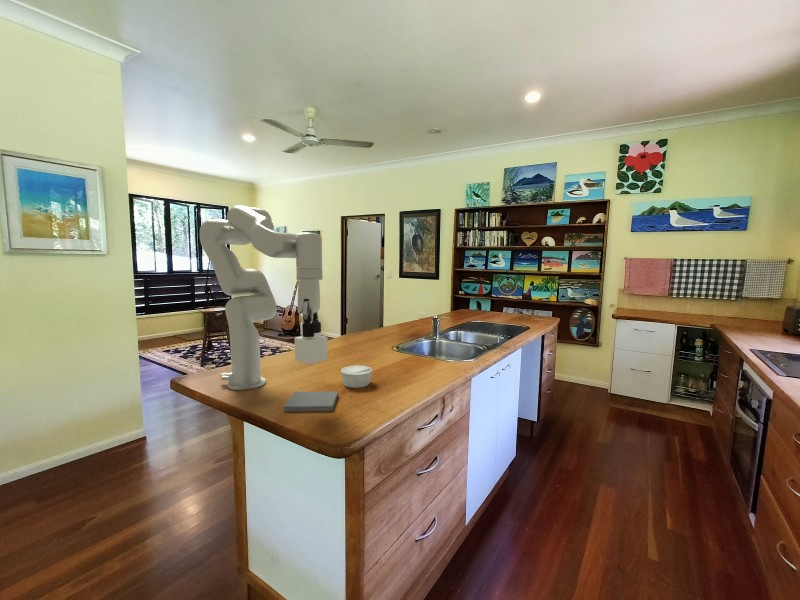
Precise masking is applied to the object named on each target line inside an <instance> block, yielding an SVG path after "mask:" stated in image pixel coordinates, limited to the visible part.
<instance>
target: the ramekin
mask: <svg viewBox="0 0 800 600" xmlns="http://www.w3.org/2000/svg"><path fill="white" fill-rule="evenodd" d="M372 373H373V368H372V367H369V366H368V365H361V364H360V365H359V364H358V365H350V366H349V365H348V366H345V367H343V368H341V369H340V374H341V379H342V384H343V385H344V386H345V387H347V388H351V389H359V388H360V389H361V388H364V387H367V386H369V384H370V383H371V380H372Z"/></svg>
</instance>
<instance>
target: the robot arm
mask: <svg viewBox="0 0 800 600" xmlns="http://www.w3.org/2000/svg"><path fill="white" fill-rule="evenodd" d="M199 241H200V245H201V248H202V249H203V251H204V253H205V255H206V256H207V258H208V259H209V261H210V263H211V265H212V267H213V270H214V273H215V276H216V278H217V280H218V281H217V282H218V283H219V286H220V288H221V290H222V292H223V293H224V294H225V295H227V296H230V297H231V296H234V297H233V298H230V299H229V300H227V302H226V304H225V309H224V310H225V315H226V320H227V324H228V330H229V343H230V344H229V345H230V366H231V367H230V369H231V372H229V373H228V372H222V373H221V374H220V381H228V382H227V384H226V385H227V388H228V389H230V390H233V391H246V390H253V389H256V388H260V387H262V386H264V385H265V384H266V382H267V381H266V379H267V378H265V377H263V376H262V369H261V367H262V366H261V344H260V343H261V342H260V334H259V330H258V329H257V327H256V326H255V325H254V323H255V322H257V323H258V322H262V321H268V320H271V319H273V318H274V317H275V316H276V314H277V309H278V308H277V302H276V299H275V296H274V294H273V292H272V290H271V287H270V284H269V283H268V280H267V278H266V276H265V274H264V273H263V272H262V271H261V270H259V269H257V268H243V267H242V266H241V264H240V262H239V259H238V257H237V255H236V254H235V253H234V252H233V251H232V250H231V249H230V248H229V247H227V246H226V245H235V246H236V245H238V246H239V245H241V246H247V245H250V244H251V245H252V247H253V248H254V249H255V250H257V251H258V252H260V253H261V254H263V255H265V256H268V257H270V258H275V259H282V258H283V259H295V265H296V266H295V268H296V270H295V271H296V274H295V275H296V280H297V281H298V284H297V313H298V314H299V315H300V314H302V321H301V323H303V324H302V327H303V337H313V336H314V323H313V320H314V321H319V313H318V312H319V311H320V309H321V290H320V288H321V287H320V281H323V244H322V243H323V239H322V236H321V234H319V233H315V232H299V233H291V232H280V231H279V232H278V231H275V226H274V223H273V220H272V216H271V215H270V213H269V212H268V211H267V210H265V209H263V208H259V207H253V206H246V205H235V206H233V207H231V208H230V209H229V210H228V211H227V213H226V219H217V218H214V219H208V220H206V221H203V223H202V224H201V225H200V227H199Z"/></svg>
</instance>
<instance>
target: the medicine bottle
mask: <svg viewBox="0 0 800 600" xmlns="http://www.w3.org/2000/svg"><path fill="white" fill-rule="evenodd" d="M313 323H314V336H313V337H303V327H302V324H303V323H302V322H301V323H300V325H299V327H300V336H295V337H294V359H295V362H296V361H297V362H299V363H304V364H307V365H313V364H316V363H319V362H320V363H321V362H324V361H328V359H329V356H328V355H329V353H328V350H329V347H328V345H329V343H328V341H329V339H328V336H324V335H322V323H321V321H319V320H318V321H314V320H313Z"/></svg>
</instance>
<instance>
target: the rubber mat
mask: <svg viewBox="0 0 800 600" xmlns="http://www.w3.org/2000/svg"><path fill="white" fill-rule="evenodd" d="M338 397H339V391H337V390H336V391H294V392H293V394H292V395H291V396H290V398H289V399H288V400H287V402H286V403H285V404H284V406H283V412H285V413H286V412H332V411H333V410H334V408H335V405H336V403H337V400H338Z"/></svg>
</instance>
